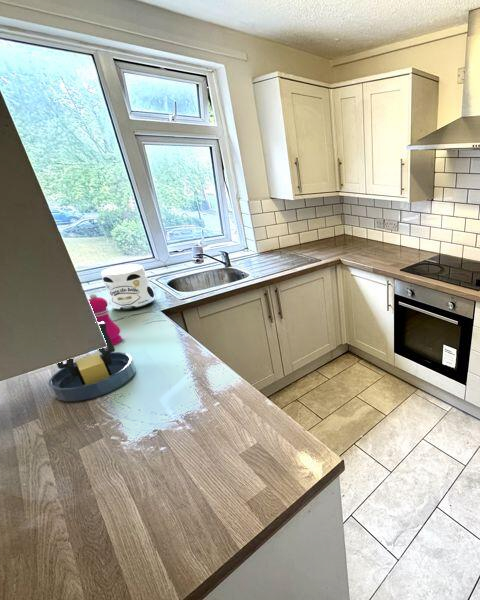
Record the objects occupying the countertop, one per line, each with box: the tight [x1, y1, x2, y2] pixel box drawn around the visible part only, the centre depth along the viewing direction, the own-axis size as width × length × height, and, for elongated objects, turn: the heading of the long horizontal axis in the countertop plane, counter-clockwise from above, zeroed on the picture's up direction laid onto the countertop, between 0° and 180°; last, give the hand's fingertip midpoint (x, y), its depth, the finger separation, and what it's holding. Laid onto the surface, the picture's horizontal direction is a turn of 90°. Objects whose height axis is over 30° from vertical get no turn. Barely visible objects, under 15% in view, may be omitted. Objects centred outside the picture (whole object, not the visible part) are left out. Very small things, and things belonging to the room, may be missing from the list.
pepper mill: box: [88, 293, 123, 346], centre depth 121 cm, size 7×7×20 cm
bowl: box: [48, 351, 136, 402], centre depth 102 cm, size 19×19×5 cm
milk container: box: [100, 264, 156, 311], centre depth 153 cm, size 17×17×18 cm
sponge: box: [74, 352, 110, 385], centre depth 100 cm, size 8×6×7 cm
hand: (96, 378), depth 101 cm, fingers closed on sponge, 5 cm apart
